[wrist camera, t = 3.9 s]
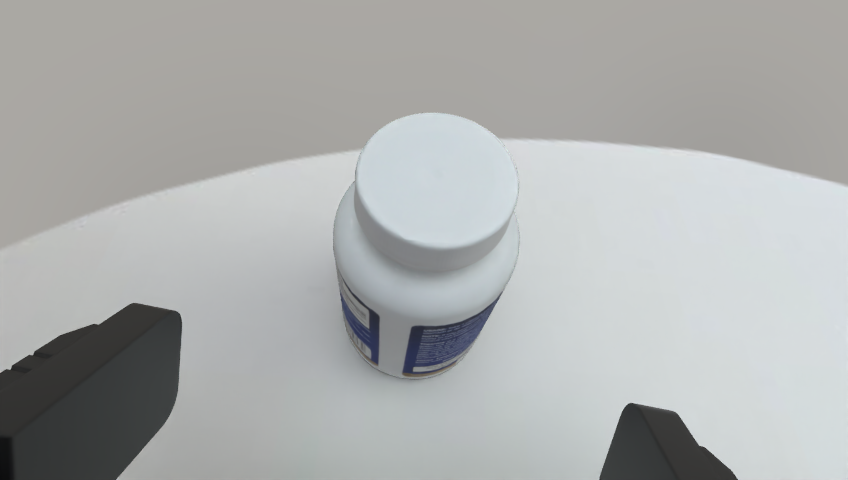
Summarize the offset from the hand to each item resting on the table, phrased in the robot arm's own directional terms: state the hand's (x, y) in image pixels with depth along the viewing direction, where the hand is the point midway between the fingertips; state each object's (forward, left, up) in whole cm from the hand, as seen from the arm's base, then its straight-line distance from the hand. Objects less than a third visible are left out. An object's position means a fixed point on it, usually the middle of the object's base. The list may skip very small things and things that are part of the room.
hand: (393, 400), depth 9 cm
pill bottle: (0, +6, -11) cm, 12 cm away
